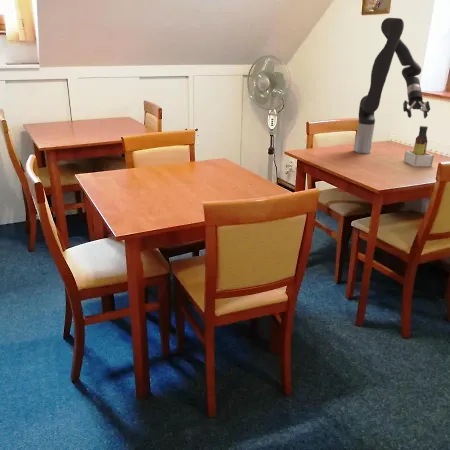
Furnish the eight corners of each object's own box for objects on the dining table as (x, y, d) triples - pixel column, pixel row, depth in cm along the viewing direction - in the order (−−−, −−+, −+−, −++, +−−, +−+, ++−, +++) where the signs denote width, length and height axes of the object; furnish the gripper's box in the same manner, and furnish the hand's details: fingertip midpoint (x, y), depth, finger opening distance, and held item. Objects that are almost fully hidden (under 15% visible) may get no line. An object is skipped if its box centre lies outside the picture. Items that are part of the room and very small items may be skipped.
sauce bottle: (424, 164, 253) (431, 127, 246) (412, 163, 254) (419, 127, 247) (422, 161, 259) (429, 125, 251) (410, 160, 260) (417, 125, 253)
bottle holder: (414, 166, 251) (416, 155, 249) (403, 161, 261) (405, 150, 259) (431, 166, 252) (433, 155, 250) (420, 160, 263) (422, 150, 260)
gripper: (404, 89, 261) (407, 112, 255) (429, 90, 261) (433, 113, 255) (399, 97, 268) (402, 120, 262) (424, 98, 268) (427, 121, 262)
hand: (417, 117), depth 259 cm, fingers open, 8 cm apart
